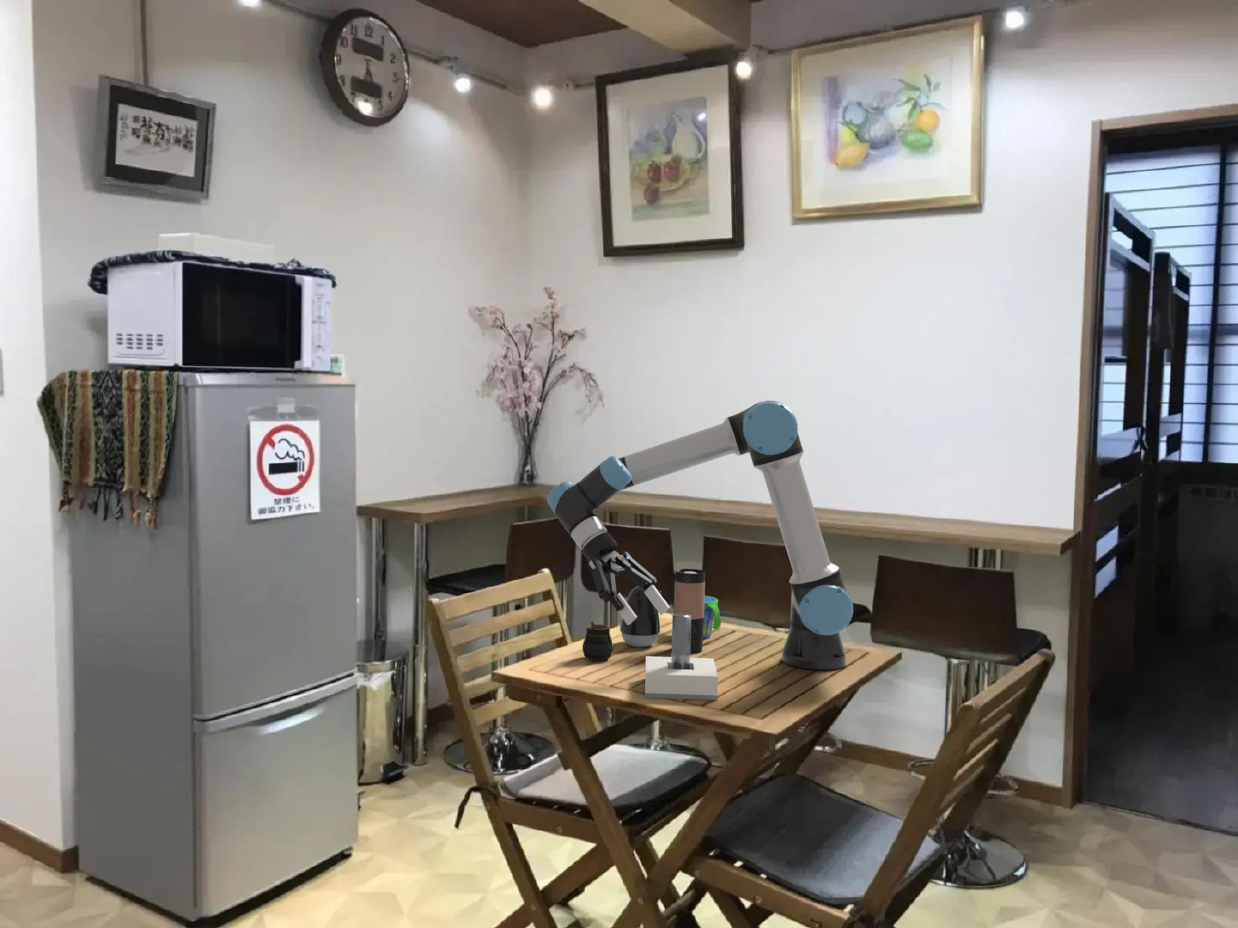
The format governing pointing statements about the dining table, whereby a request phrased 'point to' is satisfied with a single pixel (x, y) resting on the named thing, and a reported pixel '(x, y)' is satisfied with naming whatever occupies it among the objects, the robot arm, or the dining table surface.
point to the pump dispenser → (641, 620)
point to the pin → (681, 641)
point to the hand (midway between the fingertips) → (649, 616)
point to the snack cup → (710, 616)
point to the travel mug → (691, 602)
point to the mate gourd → (597, 642)
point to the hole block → (681, 679)
